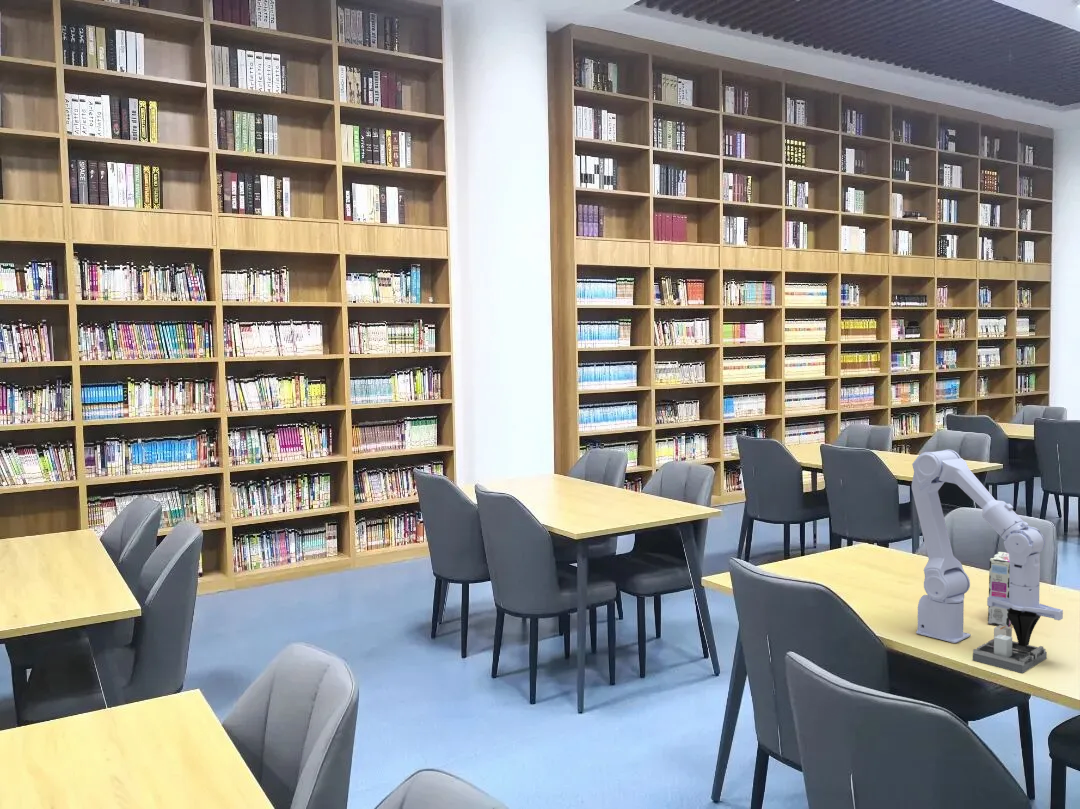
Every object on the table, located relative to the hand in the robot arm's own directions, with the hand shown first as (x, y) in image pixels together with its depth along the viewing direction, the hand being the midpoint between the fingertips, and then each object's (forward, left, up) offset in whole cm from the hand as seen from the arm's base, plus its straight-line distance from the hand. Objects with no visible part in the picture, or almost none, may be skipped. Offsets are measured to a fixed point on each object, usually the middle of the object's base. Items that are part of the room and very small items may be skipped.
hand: (1023, 644), depth 181 cm
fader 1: (-4, 0, -1) cm, 4 cm away
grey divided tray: (-2, -3, -3) cm, 5 cm away
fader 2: (-2, -6, -1) cm, 7 cm away
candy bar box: (-14, +24, -3) cm, 28 cm away
